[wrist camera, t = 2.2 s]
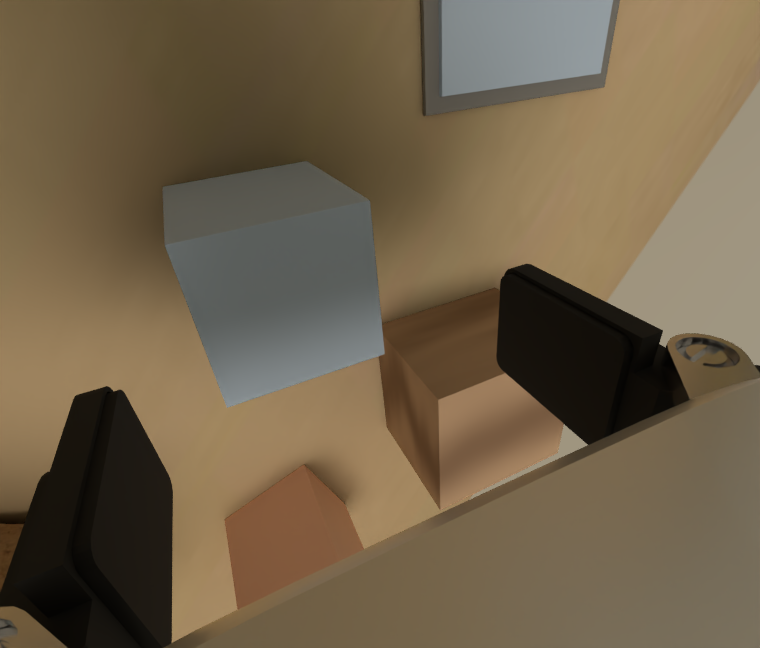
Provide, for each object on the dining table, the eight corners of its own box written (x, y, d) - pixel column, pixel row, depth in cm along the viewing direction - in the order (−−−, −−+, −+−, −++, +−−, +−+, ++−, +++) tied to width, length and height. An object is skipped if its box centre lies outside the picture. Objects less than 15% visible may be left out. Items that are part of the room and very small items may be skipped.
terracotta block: (224, 518, 23) (241, 636, 18) (303, 463, 23) (340, 564, 18) (275, 552, 26) (301, 660, 21) (344, 503, 26) (384, 598, 21)
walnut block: (374, 325, 21) (438, 399, 16) (493, 286, 23) (580, 342, 18) (386, 426, 25) (440, 510, 20) (487, 385, 27) (557, 452, 22)
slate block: (162, 186, 14) (164, 245, 9) (306, 160, 16) (369, 200, 11) (208, 313, 17) (227, 407, 12) (327, 281, 18) (384, 354, 14)
